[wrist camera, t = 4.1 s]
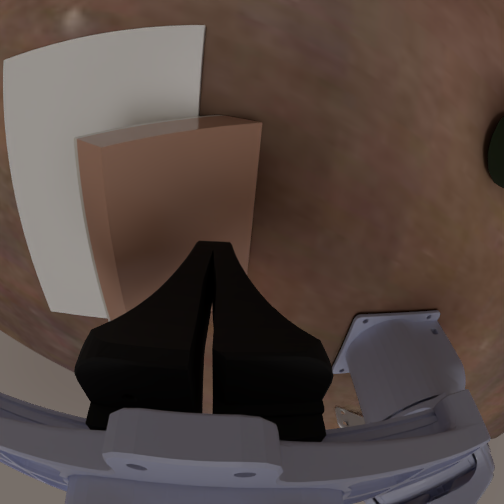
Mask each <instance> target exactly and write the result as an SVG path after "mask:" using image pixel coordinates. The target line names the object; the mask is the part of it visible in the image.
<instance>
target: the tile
mask: <svg viewBox="0 0 504 504" xmlns="http://www.w3.org/2000/svg"><path fill="white" fill-rule="evenodd" d="M261 133H262V122H257V121H252V120H247V119H241V118H236V117H230V116H224V115H208V116H197V117H188V118H179V119H171V120H164V121H156V122H150V123H143V124H137V125H132V126H126V127H121V128H115V129H110V130H105V131H101V132H96V133H91V134H87V135H83V136H79V137H75V138H74V149H75V160H76V169H77V178H78V185H79V193H80V200H81V206H82V212H83V218H84V224H85V229H86V234H87V239H88V244H89V249H90V253H91V258H92V262H93V266H94V271H95V275H96V279H97V283H98V286H99V290H100V294H101V297H102V301H103V304H104V308H105V311H106V315H107V318H108V321H112V320H114V319H116V318H117V317H119V316H121V315H123V314H125V313H126V312H128V311H130V310H131V309H133V308H134V307H136V306H137V305H139V304H140V303H141V302H143V301H144V300H146V299H147V298H148V297H149V296H151V295H152V294H153V293H154V292H155V291H156V290H158V289H159V288H160V287H161V286H162V285H163V284H164V283H165V282H166V281H167V280H168V279H169V278H170V277H171V276H172V274H173V273H174V272H175V271H176V270H177V269H178V268H179V266H180V265H181V264H182V263H183V261H184V260H185V259H186V258H187V256H188V255H189V253H190V252H191V251H192V249H193V247H194V246H195V244H196V243H197V242H198V241H219V242H230V243H231V244H232V246H233V249H234V252H235V254H236V257H237V259H238V261H239V263H240V264H241V266H242V268H243V270H244V271H245V273H246V275H247V272H248V262H249V252H250V242H251V232H252V222H253V212H254V202H255V192H256V182H257V172H258V162H259V153H260V143H261ZM211 311H212V307H211Z"/></svg>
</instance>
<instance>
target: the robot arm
mask: <svg viewBox="0 0 504 504" xmlns="http://www.w3.org/2000/svg"><path fill="white" fill-rule="evenodd" d="M211 307H212V310H213V325H214V334H213V348H212V355H213V414H202V400H203V368H204V352H205V344H206V338H207V331H208V325H209V319H210V313H211ZM439 317H440V312H439V311H438V310H433V311H419V312H403V313H383V314H360V315H357V316H356V317H355V318H354V320H353V322H352V324H351V327H350V329H349V332H348V334H347V336H346V338H345V341H344V343H343V345H342V347H341V350H340V352H339V354H338V356H337V358H336V360H335V363H334V365H333V367H331V363H330V360H329V358H328V356H327V353H326V351H325V349H324V347H323V345H322V343H321V341H320V340H319V339H317V338H315V337H313V336H312V335H310V334H308V333H307V332H305V331H303V330H302V329H300V328H299V327H297V326H296V325H294V324H293V323H292V322H290V321H289V320H287V319H286V318H285V317H284V316H283V315H281V314H280V313H279V312H278V311H277V310H276V309H275V308H273V307H272V306H271V305H270V304H269V303H268V302H267V300H266V299H265V298H264V297H263V296H262V295H261V294H260V293H259V291H258V290H257V289H256V287H255V286H254V285H253V283H252V282H251V281H250V279H249V278H248V276H247V275H246V273H245V271H244V270H243V268H242V266H241V264H240V263H239V261H238V259H237V257H236V254H235V252H234V249H233V246H232V244H231V243H230V242H219V241H198V242H197V243H196V244H195V246H194V247H193V249H192V251H191V252H190V253H189V255H188V256H187V258H186V259H185V260H184V261H183V263H182V264H181V265H180V266H179V268H178V269H177V270H176V271H175V272H174V273H173V274H172V276H171V277H170V278H169V279H168V280H167V281H166V282H165V283H164V284H163V285H162V286H161V287H160V288H159V289H158V290H156V291H155V292H154V293H153V294H152V295H151V296H149V297H148V298H147V299H146V300H144V301H143V302H141V303H140V304H139V305H137V306H136V307H134V308H133V309H131V310H130V311H128V312H126V313H125V314H123V315H121V316H119V317H117V318H116V319H114V320H112V321H109V322H107V323H105V324H103V325H101V326H99V327H97V328H94V329H92V330H91V331H90V333H89V335H88V337H87V339H86V340H85V342H84V344H83V347H82V349H81V352H80V354H79V357H78V360H77V362H76V365H75V376H76V378H77V380H78V382H79V384H80V385H81V387H82V389H83V390H84V392H85V393H86V395H87V397H88V398H89V400H90V401H91V403H90V407H89V411H88V415H87V419H86V418H81V417H78V416H73V415H69V414H66V413H62V412H58V411H54V410H51V409H47V408H44V407H41V406H37V405H34V404H31V403H28V402H25V401H22V400H19V399H17V398H14V397H11V396H8V395H5V394H3V393H0V462H2V463H4V464H5V465H7V466H9V467H12V468H13V469H15V470H17V471H19V472H21V473H23V474H26V475H28V476H30V477H32V478H34V479H37V480H39V481H41V482H43V483H46V484H48V485H51V486H54V487H56V488H58V489H61V490H64V491H66V492H67V493H66V500H65V504H353V503H357V502H361V501H364V502H365V503H366V504H476V503H477V502H478V501H479V499H480V498H481V496H482V495H483V493H484V492H485V490H486V489H487V487H488V486H489V484H490V483H491V481H492V479H493V476H494V474H493V471H494V469H495V466H494V462H493V459H492V456H491V454H490V448H489V445H488V442H489V441H490V439H491V438H490V436H489V433H488V431H487V428H486V426H485V424H484V422H483V419H482V417H481V415H480V413H479V411H478V408H477V406H476V404H475V402H474V400H473V398H472V396H471V394H470V392H469V390H468V389H465V371H464V367H463V364H462V362H461V360H460V358H459V357H458V355H457V353H456V351H455V350H454V348H453V346H452V344H451V343H450V341H449V339H448V338H447V336H446V334H445V333H444V331H443V329H442V328H441V326H440V324H439V323H438V321H437V320H438V318H439ZM365 319H366V320H365ZM333 373H334V374H339V373H350V374H351V378H352V381H353V384H354V387H355V390H356V394H357V397H358V400H359V404H360V407H361V410H362V414H363V417H364V421H365V424H363V425H357V426H351V427H344V428H337V429H329V430H325V426H324V421H323V416H322V414H323V413H324V405H323V401H322V399H323V397H324V396H325V394H326V392H327V390H328V388H329V386H330V384H331V383H332V379H333Z"/></svg>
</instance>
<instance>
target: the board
mask: <svg viewBox="0 0 504 504" xmlns="http://www.w3.org/2000/svg"><path fill="white" fill-rule="evenodd" d="M205 31H206V26H205V25H182V26H161V27H148V28H138V29H129V30H122V31H115V32H108V33H102V34H97V35H91V36H86V37H81V38H77V39H72V40H68V41H64V42H60V43H56V44H52V45H49V46H45V47H42V48H38V49H35V50H32V51H29V52H26V53H23V54H20V55H17V56H14V57H11V58H9V59H6V60H4V67H3V99H4V119H5V131H6V141H7V150H8V157H9V164H10V171H11V176H12V182H13V187H14V192H15V197H16V202H17V206H18V211H19V215H20V219H21V223H22V227H23V231H24V234H25V238H26V241H27V245H28V248H29V251H30V255H31V258H32V261H33V264H34V267H35V270H36V273H37V276H38V279H39V281H40V284H41V287H42V289H43V292H44V295H45V297H46V300H47V302H48V305H49V307H50V310H51V311H54V312H61V313H68V314H75V315H83V316H91V317H100V318H107V315H106V311H105V308H104V304H103V301H102V297H101V294H100V290H99V286H98V283H97V279H96V275H95V271H94V266H93V262H92V258H91V253H90V249H89V244H88V239H87V234H86V229H85V224H84V218H83V212H82V206H81V200H80V193H79V185H78V178H77V169H76V160H75V149H74V138H75V137H79V136H83V135H87V134H91V133H96V132H101V131H105V130H110V129H115V128H121V127H126V126H132V125H137V124H143V123H150V122H156V121H164V120H171V119H179V118H188V117H197V116H199V112H200V95H201V79H202V66H203V53H204V42H205Z"/></svg>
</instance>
